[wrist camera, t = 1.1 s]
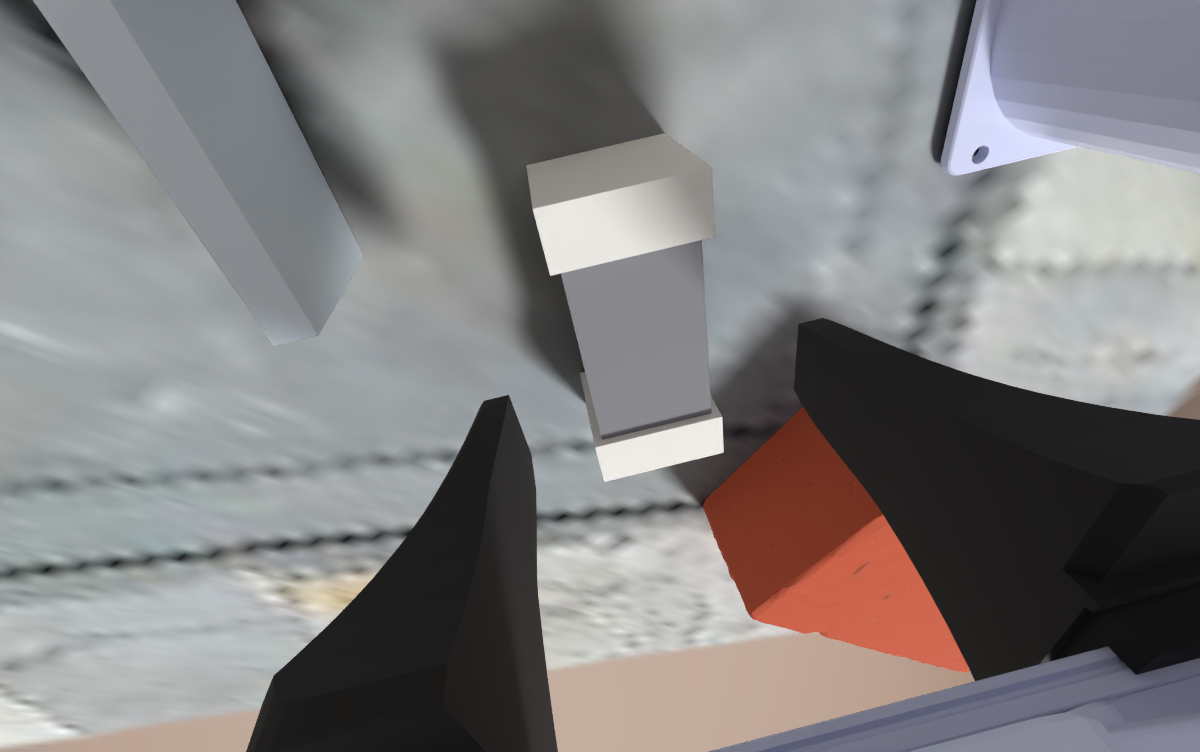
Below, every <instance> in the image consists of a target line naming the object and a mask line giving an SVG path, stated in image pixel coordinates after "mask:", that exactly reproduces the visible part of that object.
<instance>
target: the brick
mask: <svg viewBox="0 0 1200 752" xmlns="http://www.w3.org/2000/svg"><path fill="white" fill-rule="evenodd" d="M703 508H704V510H705V513H706V516H707V518H708V521H709V523H710V526H711V529H712V531H713V535H714V538H715V539H716V541H717V544H718V547H719V549H720V551H721V553H722V556H723V559H724V560H725V562H726V563H727V566H728V570H729V574H730V576H731V578H732V579H733V580H734V581H735V583H736V586H737V588H738V590H739V592H740V594H741V597H742V599H743V602H744V604H745V607H746V610H747V612H748V614H749V615H750V617H752V618H753V620H757V621H760V622H763V623H766V624H772V625H775V626H779V627H784V628H787V629H791V630H794V631H797V632H800V633H812V632H819V633H820V634H821V635H823V636H825V637H827V638H831V639H836V640H841V641H844V642H847V643H851V644H853V645H857V646H860V647H864V648H868V649H873V650H877V651H879V652H883V653H887V654H892V655H895V656H901V657H907V658H909V659H912V660H916V661H919V662H922V663H928V664H931V665H934V666H937V667H944V668H947V669H950V670H955V671H961V672H968V671H970V669H969V667H968V665H967V663H966V661H965V659H964V657H963V655H962V653H961V651H960V650H959V648H958V646H957V644H956V642H955V640H954V638H953V636H952V634H951V632H950V630H949V628H948V626H947V624H946V622H945V620H944V618H943V617H942V615H941V613H940V611H939V609H938V607H937V606H936V604H935V602H934V600H933V598H932V597H931V595H930V593H929V591H928V589H927V587H926V586H925V584H924V582H923V580H922V578H921V577H920V575H919V573H918V572H917V570H916V568H915V566H914V565H913V563H912V561H911V560H910V558H909V556H908V555H907V553H906V551H905V550H904V548H903V546H902V544H901V543H900V541H899V539H898V538H897V536H896V535H895V533H894V532H893V530H892V528H891V527H890V525H889V524H888V522H887V520H886V519H885V517H884V516H883V514H882V512H881V511H880V509H879V508H878V506H877V505H876V503H875V502H874V501H873V499H872V498H871V496H870V495H869V494H868V492H867V491H866V490H865V488H864V487H863V486H862V485H861V483H860V482H859V481H858V479H857V478H856V477H855V476H854V474H853V473H852V472H851V471H850V469H849V468H848V467H847V466H846V464H845V463H844V462H843V460H842V459H841V458H840V457H839V455H838V454H837V453H836V452H835V450H834V449H833V448H832V447H831V445H830V444H829V443H828V441H827V440H826V439H825V437H824V436H823V435H822V434H821V432H820V431H819V430H818V428H817V427H816V426H815V424H814V423H813V422H812V420H811V418H810V417H809V415H808V413H807V412H806V410H805V408H804V407H803V408H802V409H800V410H799V411H798V412H797V413H796V414H795V415H794V416H793V417H792V418H791V419H790V420H789V421H788V422H787V423H786V424H785V425H784V426H783V427H781V428H780V429H779V430H778V431H777V432H776V433H775V434H774V435H773V436H772V437H771V438H770V439H769V440H768V441H767V442H766V443H765V444H764V445H762V446H761V447H760V448H759V449H758V450H757V451H756V452H755V453H754V454H753V455H752V456H751V457H750V458H749V459H748V460H747V461H746V462H745V463H743V464H742V465H741V466H740V467H739V468H738V469H737V470H736V471H735V472H734V473H733V474H732V475H731V476H730V477H729V478H728V479H727V480H726V481H725V482H724V483H723V484H721V485H720V486H719V487H718V488H717V489H716V490H715V491H714V492H713V493H712V494H711V495H710V496H709V497H708V498H707V499H706V500H705V502H704V504H703Z"/></svg>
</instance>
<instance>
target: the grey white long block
mask: <svg viewBox="0 0 1200 752" xmlns="http://www.w3.org/2000/svg"><path fill="white" fill-rule="evenodd" d="M526 167H527V174H528V181H529V188H530V194H531V201H532V208H533V212H534V216H535V220H536V224H537V227H538V231H539V235H540V239H541V243H542V246H543V250H544V254H545V258H546V262H547V265H548V269H549V273H550V276H552V275H556V274H560V273H561V277H562V281H563V285H564V289H565V293H566V297H567V301H568V305H569V309H570V313H571V317H572V321H573V325H574V329H575V333H576V337H577V341H578V345H579V349H580V353H581V357H582V361H583V365H584V369H585V372H581V373H580V377H581V382H582V387H583V391H584V396H585V401H586V406H587V410H588V415H589V420H590V424H591V429H592V434H593V439H594V443H595V448H596V452H597V456H598V459H599V463H600V467H601V471H602V475H603V478H604V482H606V481H610V480H614V479H618V478H622V477H626V476H630V475H634V474H638V473H643V472H647V471H651V470H655V469H659V468H663V467H667V466H671V465H675V464H679V463H683V462H687V461H692V460H696V459H700V458H704V457H708V456H712V455H716V454H720V453H724V447H723V423H722V415H721V413H720V412H719V410H718V408H717V406H716V404H715V402H714V401H713V399H712V397H711V394H710V377H709V360H708V342H707V325H706V308H705V291H704V274H703V257H702V240H704V239H708V238H712V237H715V228H714V204H713V179H712V167H711V166H710V165H709V164H707V163H706V162H704V161H703V160H702V159H700V158H699V157H697V156H696V155H695V154H693V153H692V152H690V151H689V150H688V149H686V148H685V147H683V146H682V145H681V144H679V143H678V142H676V141H675V140H674V139H672V138H671V137H669V136H668V135H667V134H665V133H663V134H659V135H654V136H650V137H646V138H642V139H637V140H633V141H629V142H624V143H620V144H616V145H611V146H607V147H603V148H599V149H594V150H590V151H586V152H581V153H577V154H573V155H568V156H564V157H560V158H556V159H551V160H547V161H543V162H538V163H534V164H530V165H526Z"/></svg>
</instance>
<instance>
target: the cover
mask: <svg viewBox="0 0 1200 752" xmlns="http://www.w3.org/2000/svg"><path fill="white" fill-rule="evenodd" d="M33 1H34V3H35V4H36V5H37V7H38V8H39V10H40V11H41V13H42V14H43V15H44V17H45V18H46V20H47V21H48V23H49V24H50V26H51V27H52V28H53V30H54V31H55V33H56V34H57V36H58V37H59V38H60V40H61V41H62V43H63V44H64V46H65V47H66V48H67V50H68V51H69V53H70V54H71V56H72V57H73V59H74V60H75V61H76V63H77V64H78V66H79V67H80V69H81V70H82V71H83V73H84V74H85V76H86V77H87V79H88V80H89V81H90V83H91V84H92V86H93V87H94V89H95V90H96V92H97V93H98V94H99V96H100V97H101V99H102V100H103V102H104V103H105V104H106V106H107V107H108V109H109V110H110V112H111V113H112V114H113V116H114V117H115V119H116V120H117V122H118V123H119V124H120V126H121V127H122V129H123V130H124V132H125V133H126V135H127V136H128V137H129V139H130V140H131V142H132V143H133V145H134V146H135V147H136V149H137V150H138V152H139V153H140V155H141V156H142V157H143V159H144V160H145V162H146V163H147V165H148V166H149V168H150V169H151V170H152V172H153V173H154V175H155V176H156V178H157V179H158V180H159V182H160V183H161V185H162V186H163V188H164V189H165V190H166V192H167V193H168V195H169V196H170V198H171V199H172V201H173V202H174V203H175V205H176V206H177V208H178V209H179V211H180V212H181V213H182V215H183V216H184V218H185V219H186V221H187V222H188V223H189V225H190V226H191V228H192V229H193V231H194V232H195V234H196V235H197V236H198V238H199V239H200V241H201V242H202V244H203V245H204V246H205V248H206V249H207V251H208V252H209V254H210V255H211V256H212V258H213V259H214V261H215V262H216V264H217V265H218V266H219V268H220V269H221V271H222V272H223V274H224V275H225V277H226V278H227V279H228V281H229V282H230V284H231V285H232V287H233V288H234V289H235V291H236V292H237V294H238V295H239V297H240V298H241V299H242V301H243V302H244V304H245V305H246V307H247V308H248V310H249V311H250V312H251V314H252V315H253V317H254V318H255V320H256V321H257V322H258V324H259V325H260V327H261V328H262V330H263V331H264V332H265V334H266V335H267V337H268V338H269V340H270V341H271V343H272V344H273V345H274V346H276V345H281V344H285V343H289V342H293V341H298V340H302V339H306V338H310V337H314V336H318V335H319V333H320V332H321V330H322V328H323V327H324V325H325V323H326V322H327V320H328V318H329V316H330V315H331V313H332V311H333V310H334V308H335V306H336V305H337V303H338V301H339V299H340V298H341V296H342V294H343V293H344V291H345V289H346V288H347V286H348V284H349V282H350V281H351V279H352V277H353V276H354V274H355V272H356V271H357V269H358V267H359V265H360V264H361V262H362V260H363V259H364V256H363V254H362V252H361V250H360V248H359V246H358V244H357V242H356V240H355V238H354V236H353V234H352V232H351V230H350V228H349V226H348V224H347V222H346V220H345V218H344V216H343V214H342V212H341V210H340V208H339V206H338V204H337V202H336V200H335V198H334V196H333V194H332V192H331V190H330V188H329V186H328V184H327V182H326V180H325V178H324V176H323V174H322V172H321V170H320V168H319V166H318V164H317V162H316V160H315V158H314V156H313V154H312V152H311V150H310V148H309V146H308V144H307V142H306V140H305V138H304V136H303V134H302V132H301V130H300V128H299V126H298V124H297V122H296V120H295V118H294V116H293V114H292V112H291V110H290V108H289V106H288V104H287V102H286V100H285V98H284V96H283V94H282V92H281V90H280V88H279V86H278V84H277V82H276V80H275V78H274V76H273V74H272V72H271V70H270V68H269V66H268V64H267V62H266V60H265V58H264V56H263V54H262V52H261V50H260V48H259V46H258V44H257V42H256V40H255V38H254V36H253V34H252V32H251V30H250V28H249V26H248V24H247V22H246V20H245V18H244V16H243V14H242V12H241V10H240V8H239V6H238V4H237V2H236V0H33Z"/></svg>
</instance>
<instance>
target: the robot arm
mask: <svg viewBox="0 0 1200 752" xmlns="http://www.w3.org/2000/svg"><path fill="white" fill-rule="evenodd" d="M1075 147H1082V148H1086V149H1091V150H1095V151H1100V152H1104V153H1109V154H1113V155H1118V156H1122V157H1127V158H1131V159H1136V160H1140V161H1145V162H1149V163H1154V164H1158V165H1163V166H1167V167H1172V168H1176V169H1181V170H1185V171H1190V172H1194V173H1199V174H1200V0H977V1H976V5H975V10H974V14H973V19H972V23H971V27H970V32H969V36H968V41H967V45H966V50H965V54H964V59H963V63H962V68H961V72H960V77H959V81H958V86H957V90H956V94H955V99H954V103H953V108H952V112H951V117H950V121H949V126H948V130H947V135H946V139H945V144H944V148H943V153H942V157H941V168H942V170H943V171H945V172H946V173H949V174H952V175H961V174H966V173H970V172H974V171H978V170H983V169H987V168H991V167H995V166H999V165H1004V164H1008V163H1012V162H1016V161H1021V160H1025V159H1029V158H1033V157H1037V156H1042V155H1046V154H1050V153H1054V152H1059V151H1063V150H1067V149H1071V148H1075ZM978 148H979V151H978V153H977V155H976V156H975V157H974V158H973V159H972V156H973V154H974V152H975V151H976V150H977V149H978ZM794 390H795V392H796V394H797V396H798V397H799V399H800V401H801V403H802V405H803V407H804V408H805V410H806V412H807V413H808V415H809V417H810V418H811V420H812V422H813V423H814V424H815V426H816V427H817V428H818V430H819V431H820V432H821V434H822V435H823V436H824V437H825V439H826V440H827V441H828V443H829V444H830V445H831V447H832V448H833V449H834V450H835V452H836V453H837V454H838V455H839V457H840V458H841V459H842V460H843V462H844V463H845V464H846V466H847V467H848V468H849V469H850V471H851V472H852V473H853V474H854V476H855V477H856V478H857V479H858V481H859V482H860V483H861V485H862V486H863V487H864V488H865V490H866V491H867V492H868V494H869V495H870V496H871V498H872V499H873V501H874V502H875V503H876V505H877V506H878V508H879V509H880V511H881V512H882V514H883V516H884V517H885V519H886V520H887V522H888V524H889V525H890V527H891V528H892V530H893V532H894V533H895V535H896V536H897V538H898V539H899V541H900V543H901V544H902V546H903V548H904V550H905V551H906V553H907V555H908V556H909V558H910V560H911V561H912V563H913V565H914V566H915V568H916V570H917V572H918V573H919V575H920V577H921V578H922V580H923V582H924V584H925V586H926V587H927V589H928V591H929V593H930V595H931V597H932V598H933V600H934V602H935V604H936V606H937V607H938V609H939V611H940V613H941V615H942V617H943V618H944V620H945V622H946V624H947V626H948V628H949V630H950V632H951V634H952V636H953V638H954V640H955V642H956V644H957V646H958V648H959V650H960V651H961V653H962V655H963V657H964V659H965V661H966V663H967V665H968V667H969V669H970V671H971V673H972V675H973V678H974V679H975V682H971V683H967V684H963V685H960V686H956V687H952V688H949V689H944V690H941V691H937V692H933V693H930V694H926V695H922V696H918V697H915V698H910V699H907V700H903V701H899V702H895V703H891V704H888V705H884V706H880V707H876V708H872V709H869V710H865V711H861V712H857V713H854V714H850V715H846V716H842V717H839V718H835V719H831V720H827V721H823V722H820V723H816V724H812V725H808V726H804V727H801V728H797V729H793V730H789V731H785V732H782V733H778V734H774V735H770V736H766V737H763V738H759V739H756V740H751V741H747V742H744V743H740V744H736V745H732V746H729V747H725V748H721V749H717V750H713V751H710V752H1200V420H1195V419H1186V418H1177V417H1169V416H1162V415H1155V414H1148V413H1142V412H1136V411H1129V410H1123V409H1117V408H1111V407H1105V406H1100V405H1094V404H1089V403H1083V402H1078V401H1074V400H1069V399H1064V398H1060V397H1055V396H1051V395H1046V394H1042V393H1037V392H1033V391H1029V390H1025V389H1021V388H1017V387H1013V386H1009V385H1006V384H1002V383H999V382H995V381H992V380H988V379H985V378H981V377H978V376H974V375H971V374H968V373H965V372H962V371H959V370H956V369H953V368H950V367H947V366H944V365H942V364H939V363H936V362H933V361H930V360H927V359H925V358H922V357H920V356H917V355H914V354H912V353H909V352H907V351H904V350H901V349H899V348H897V347H894V346H892V345H889V344H887V343H884V342H882V341H879V340H877V339H875V338H872V337H870V336H867V335H865V334H863V333H860V332H858V331H855V330H853V329H851V328H848V327H846V326H843V325H841V324H838V323H836V322H833V321H830V320H827V319H824V318H821V319H817V320H813V321H809V322H805V323H801V324H799V326H798V340H797V354H796V368H795V382H794ZM246 752H558V750H557V743H556V736H555V730H554V722H553V715H552V707H551V700H550V693H549V685H548V678H547V669H546V661H545V653H544V645H543V636H542V627H541V618H540V609H539V600H538V587H537V523H536V486H535V479H534V471H533V464H532V457H531V453H530V450H529V447H528V445H527V442H526V439H525V437H524V434H523V431H522V429H521V426H520V423H519V421H518V418H517V416H516V413H515V410H514V408H513V405H512V402H511V400H510V397H509V395H507V396H503V397H498V398H494V399H490V400H486V401H484V402H483V403H482V405H481V407H480V409H479V411H478V413H477V416H476V418H475V420H474V422H473V424H472V427H471V429H470V431H469V433H468V435H467V437H466V439H465V441H464V443H463V445H462V447H461V449H460V451H459V453H458V455H457V457H456V459H455V461H454V463H453V465H452V467H451V469H450V470H449V472H448V474H447V476H446V477H445V479H444V481H443V482H442V484H441V486H440V487H439V489H438V491H437V493H436V494H435V496H434V498H433V499H432V501H431V502H430V504H429V506H428V507H427V509H426V510H425V512H424V513H423V515H422V516H421V518H420V519H419V521H418V522H417V523H416V525H415V526H414V528H413V529H412V530H411V532H410V533H409V535H408V536H407V537H406V539H405V540H404V541H403V543H402V544H401V545H400V546H399V548H398V549H397V550H396V551H395V552H394V554H393V555H392V556H391V557H390V558H389V560H388V561H387V562H386V563H385V565H384V566H383V567H382V568H381V569H380V571H379V572H378V573H377V574H376V575H375V577H374V578H373V579H372V580H371V581H370V582H369V583H368V584H367V586H366V587H365V588H364V589H363V590H362V591H361V592H360V593H359V594H358V595H357V596H356V598H355V599H354V600H353V601H352V602H351V603H350V604H349V605H348V606H347V607H346V608H345V609H344V610H343V611H342V612H341V613H340V614H339V615H338V616H337V617H336V618H335V619H334V620H333V621H332V622H331V623H330V624H329V625H328V626H327V627H326V628H325V629H324V630H323V631H322V632H321V633H320V634H319V635H318V636H317V637H315V638H314V639H313V640H312V641H311V642H310V643H309V644H308V645H307V646H306V647H305V648H304V649H303V650H301V651H300V652H299V653H298V654H297V655H296V656H295V657H294V658H293V659H292V660H291V661H290V662H289V663H287V664H286V665H285V666H284V667H283V668H282V669H281V670H280V671H279V672H277V673H276V674H275V675H274V676H273V679H272V681H271V684H270V686H269V689H268V691H267V694H266V696H265V699H264V701H263V704H262V707H261V710H260V713H259V716H258V719H257V722H256V724H255V727H254V730H253V733H252V736H251V739H250V743H249V745H248V748H247V751H246Z"/></svg>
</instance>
